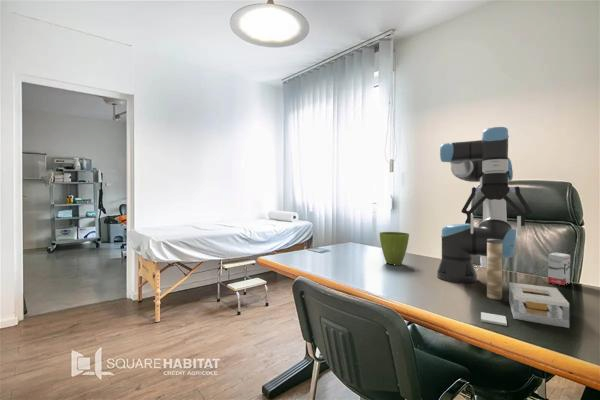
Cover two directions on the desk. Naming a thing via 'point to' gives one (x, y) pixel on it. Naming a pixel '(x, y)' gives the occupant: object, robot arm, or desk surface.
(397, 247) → the flower pot
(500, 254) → the tan wooden bar
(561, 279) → the ink box
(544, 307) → the breaker button
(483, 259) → the figurine
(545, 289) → the grey slotted box
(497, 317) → the rest pad
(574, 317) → the desk surface
